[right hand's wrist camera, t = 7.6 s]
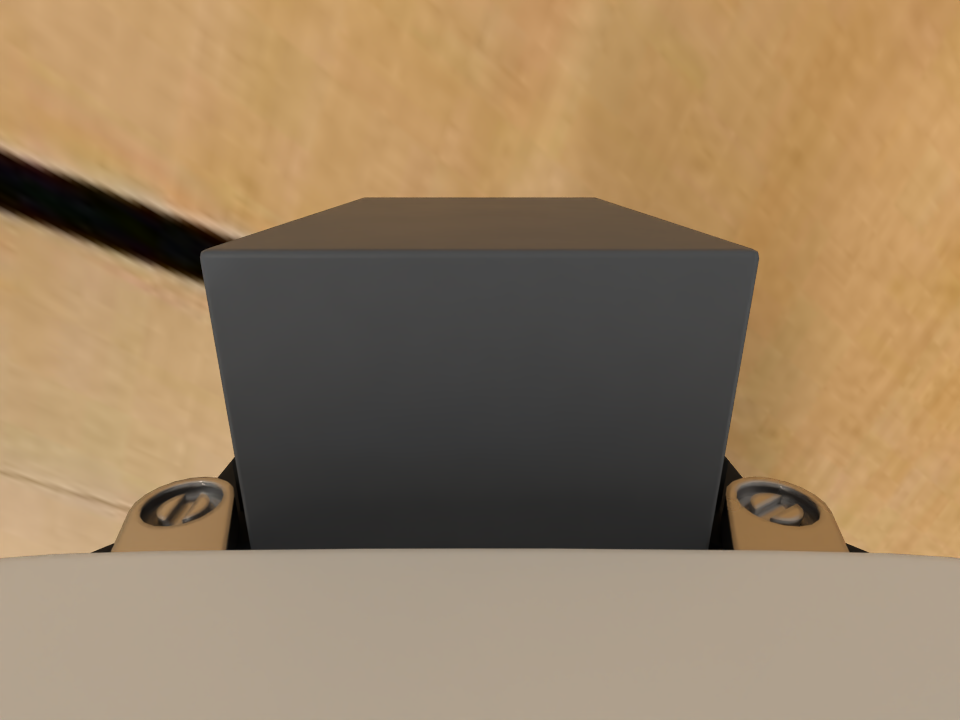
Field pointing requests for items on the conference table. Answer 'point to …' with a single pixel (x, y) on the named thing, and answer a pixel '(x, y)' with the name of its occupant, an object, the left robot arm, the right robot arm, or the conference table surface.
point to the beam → (479, 374)
